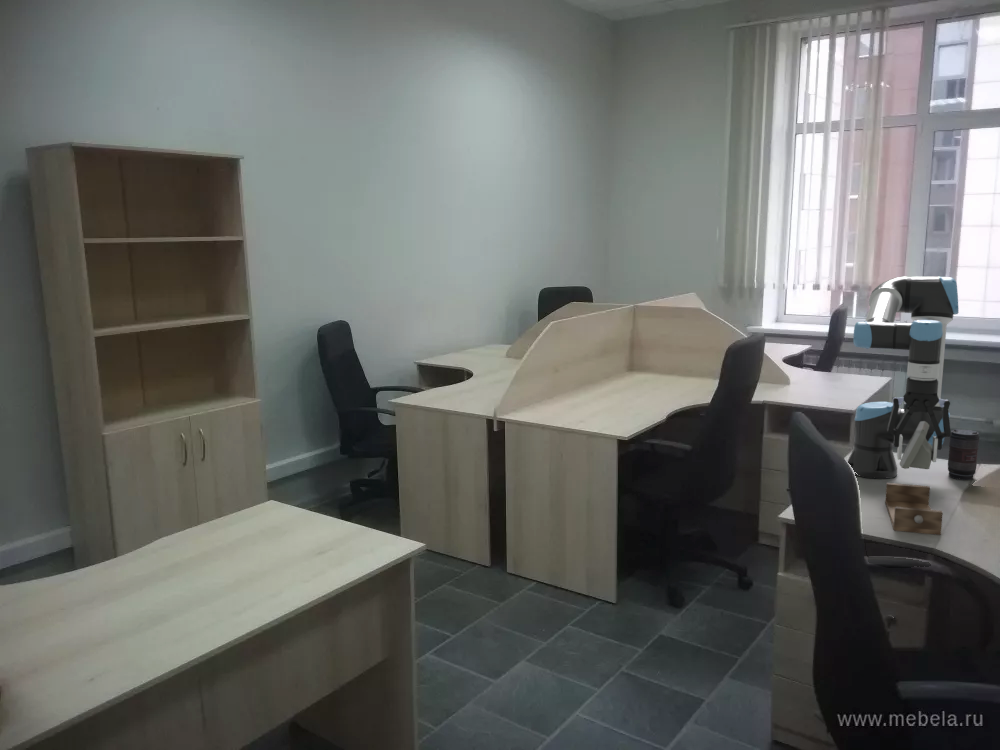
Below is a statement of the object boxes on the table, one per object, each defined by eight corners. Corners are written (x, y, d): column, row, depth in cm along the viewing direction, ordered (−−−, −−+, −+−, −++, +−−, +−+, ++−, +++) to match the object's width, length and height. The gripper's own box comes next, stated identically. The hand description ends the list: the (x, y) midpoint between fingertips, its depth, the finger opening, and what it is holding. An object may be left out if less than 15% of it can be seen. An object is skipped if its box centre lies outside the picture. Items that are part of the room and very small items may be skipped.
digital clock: (906, 454, 219) (909, 418, 217) (941, 460, 213) (944, 422, 211) (887, 467, 208) (889, 429, 206) (923, 473, 202) (926, 434, 200)
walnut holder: (926, 505, 222) (928, 485, 221) (941, 536, 200) (943, 514, 199) (884, 501, 226) (886, 481, 225) (894, 531, 204) (896, 509, 203)
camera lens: (975, 475, 247) (980, 430, 245) (975, 482, 241) (979, 436, 238) (947, 471, 252) (950, 427, 249) (945, 478, 245) (949, 433, 242)
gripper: (881, 378, 206) (876, 460, 210) (969, 382, 199) (962, 466, 203) (878, 373, 213) (873, 452, 217) (963, 377, 206) (956, 458, 210)
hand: (916, 459), depth 210 cm, fingers closed on digital clock, 8 cm apart
